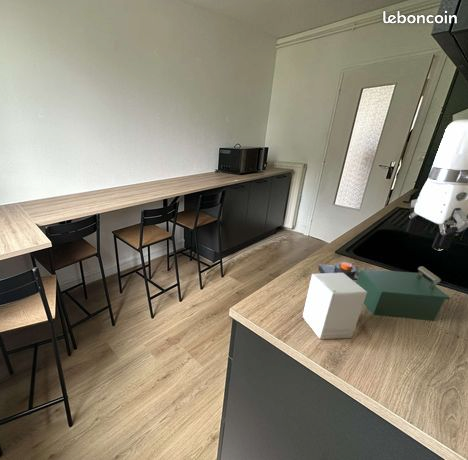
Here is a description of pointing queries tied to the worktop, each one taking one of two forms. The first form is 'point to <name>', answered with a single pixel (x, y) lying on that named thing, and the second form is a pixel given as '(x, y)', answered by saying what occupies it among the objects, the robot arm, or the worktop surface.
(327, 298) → the white product box
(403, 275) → the green box lid
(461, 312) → the worktop surface
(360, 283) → the green lidded box
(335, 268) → the control block
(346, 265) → the button
